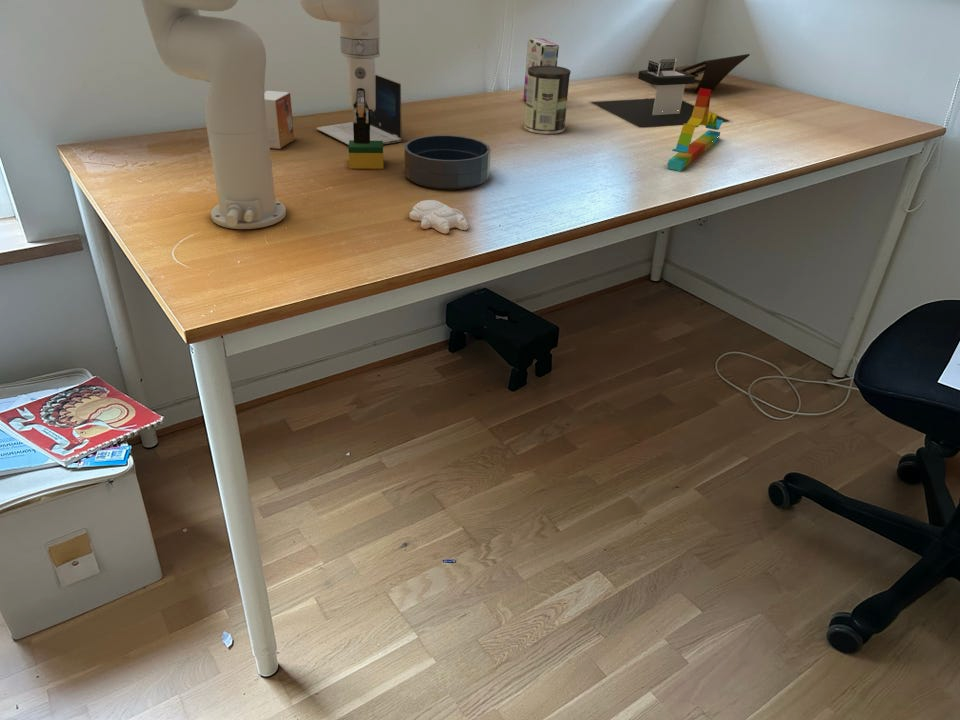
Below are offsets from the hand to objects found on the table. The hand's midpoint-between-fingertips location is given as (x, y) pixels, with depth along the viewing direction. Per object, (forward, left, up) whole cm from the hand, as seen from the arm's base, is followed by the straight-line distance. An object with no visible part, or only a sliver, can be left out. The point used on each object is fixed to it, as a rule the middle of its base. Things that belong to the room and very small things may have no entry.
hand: (362, 136), depth 150 cm
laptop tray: (+78, -102, -6) cm, 128 cm away
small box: (+16, +19, -6) cm, 26 cm away
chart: (+10, -76, -6) cm, 77 cm away
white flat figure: (-30, -14, -6) cm, 34 cm away
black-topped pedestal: (+48, -81, -6) cm, 94 cm away
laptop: (+22, +1, -6) cm, 23 cm away
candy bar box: (+54, -47, -6) cm, 72 cm away
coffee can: (+30, -45, -6) cm, 54 cm away
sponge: (+1, -1, -6) cm, 6 cm away
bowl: (-6, -17, -6) cm, 19 cm away
